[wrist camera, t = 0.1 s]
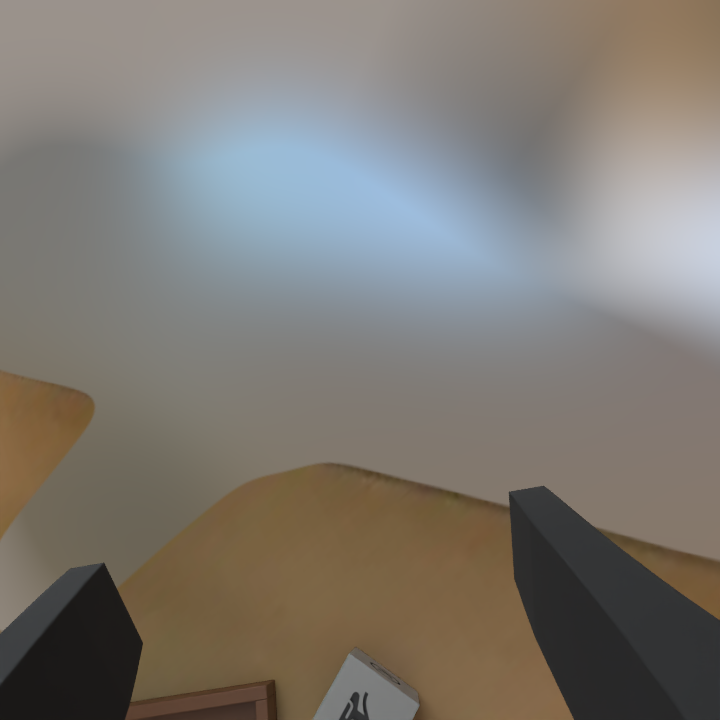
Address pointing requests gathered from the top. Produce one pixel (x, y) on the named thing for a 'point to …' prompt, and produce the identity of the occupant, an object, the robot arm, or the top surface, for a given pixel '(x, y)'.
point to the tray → (211, 704)
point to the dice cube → (367, 693)
